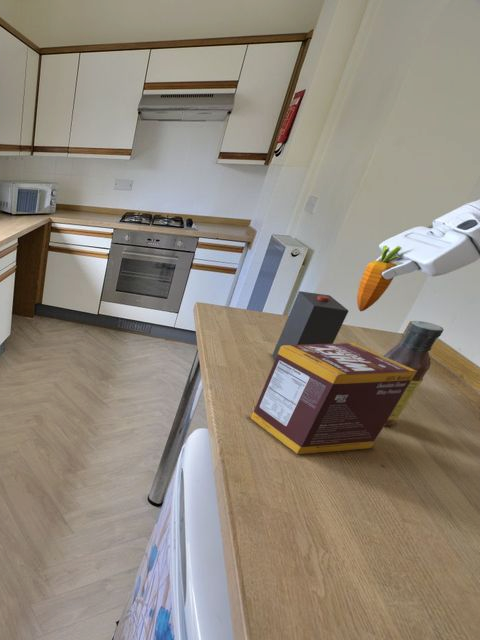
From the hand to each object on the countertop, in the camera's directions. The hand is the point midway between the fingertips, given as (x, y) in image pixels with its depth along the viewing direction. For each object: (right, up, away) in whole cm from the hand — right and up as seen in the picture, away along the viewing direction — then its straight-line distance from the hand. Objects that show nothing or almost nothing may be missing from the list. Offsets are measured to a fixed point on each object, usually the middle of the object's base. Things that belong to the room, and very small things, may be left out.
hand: (375, 272), depth 89 cm
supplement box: (-27, -32, -15) cm, 44 cm away
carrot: (0, -8, +4) cm, 9 cm away
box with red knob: (-6, -22, +6) cm, 24 cm away
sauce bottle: (-10, -30, -9) cm, 33 cm away
